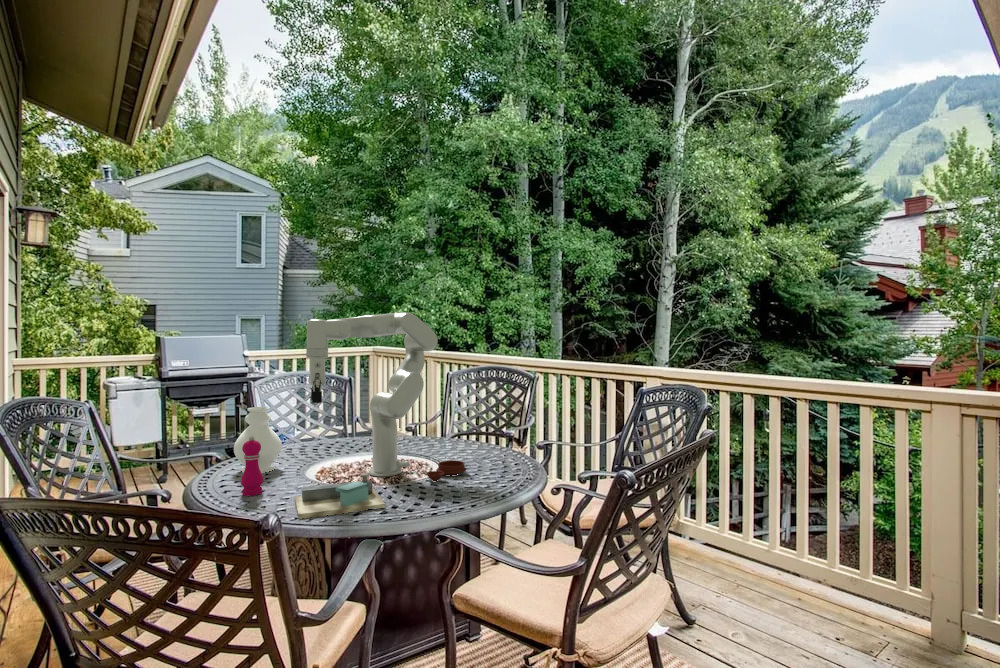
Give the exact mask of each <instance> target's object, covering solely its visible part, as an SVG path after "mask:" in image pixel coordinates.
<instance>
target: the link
mask: <svg viewBox="0 0 1000 668" xmlns="http://www.w3.org/2000/svg"><path fill="white" fill-rule="evenodd" d="M353 482H354V481H352V482H344V483H333V484H324V485H314V486H306V487H304V486H303V487H301V496H302V501H303V502H305V501H313V500H322V499H331V498H340V492H339V491H336V488H337V487H340V486H343V485H347V484H350V483H353ZM359 482H362V480H361V481H359ZM366 483H368V495H369V494H372V493H373V488H374V487H373V486H374V485H373V481H372V480H367V482H366Z"/></svg>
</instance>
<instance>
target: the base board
mask: <svg viewBox="0 0 1000 668" xmlns="http://www.w3.org/2000/svg"><path fill="white" fill-rule="evenodd" d="M369 477H370V474H369V473H362V474H361V473H360V478H361V481H362V482H363V483H366V482H367V481H368V478H369ZM294 504H295V509H296V513H297V514H296V515H297V518H299V519H298V520H302V518H304V519H311V518H310V517H312V518H318V517H317V516H320V517H328V516H335V514H336V515H342V513H344V514H349V513H348V512H353V513H356V512H355V511H361V510H368V509H375V508H383V507H385V508H386V503H385V501H384V500H383V498H382V497H381V496H380V494H379V493H378V492H377V490H376V488H374V487H373V493H372V494H369V495H368V499H367V500H364V501H361V502H358V503H355V504H353V505H350V506H343V505H340V498H331V499H322V500H313V501H305V502H303V501H302V495H296V496H294ZM361 512H362V511H361ZM327 515H328V516H327Z"/></svg>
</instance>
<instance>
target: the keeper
mask: <svg viewBox="0 0 1000 668" xmlns="http://www.w3.org/2000/svg"><path fill="white" fill-rule="evenodd" d="M352 482H353V483H351V482H349V483H350V484H347V485H343V486H340V487H337V488H336V491H339V492H340V505H343V506H350V505H353V504H355V503H358V502H361V501H364V500H367V499H368V483H363V482H360V481H358V480H357V481H352Z"/></svg>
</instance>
